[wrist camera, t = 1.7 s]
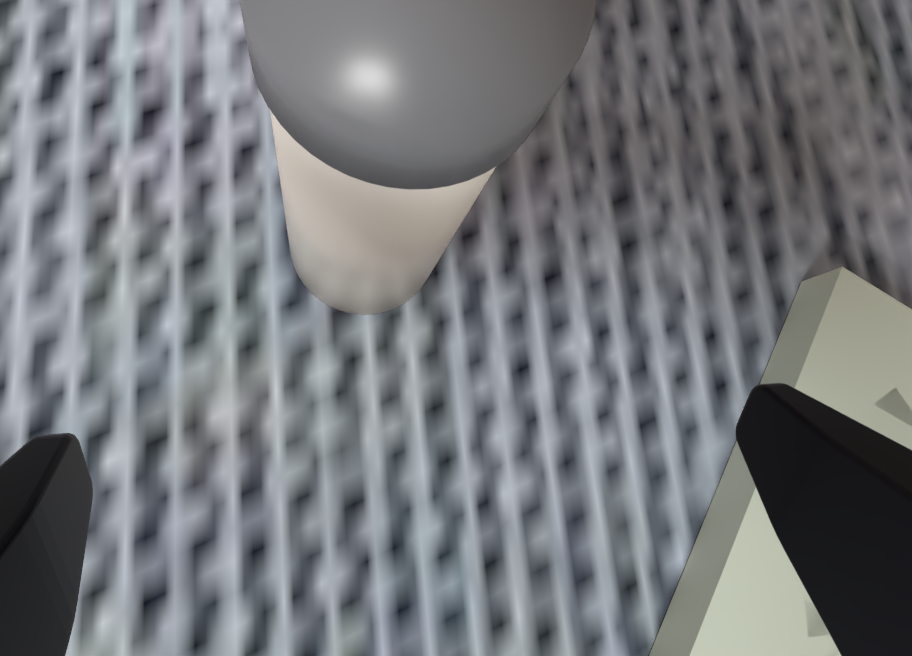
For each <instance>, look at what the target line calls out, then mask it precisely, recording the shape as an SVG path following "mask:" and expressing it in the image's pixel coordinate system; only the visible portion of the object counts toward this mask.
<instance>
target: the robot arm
mask: <svg viewBox="0 0 912 656" xmlns="http://www.w3.org/2000/svg"><path fill="white" fill-rule="evenodd" d="M736 439H737V443H738V446H739V448H740V450H741V453H742V455H743V458H744V460H745V462H746V465H747V467H748V470H749V472H750V474H751V477H752V479H753V481H754V484H755V486H756V489H757V491H758V493H759V496H760V498H761V501H762V503H763V505H764V508H765V510H766V513H767V515H768V517H769V520H770V522H771V524H772V526H773V528H774V531H775V533H776V535H777V537H778V539H779V541H780V543H781V545H782V547H783V549H784V551H785V553H786V554H787V556H788V558H789V560H790V562H791V564H792V565H793V567H794V569H795V571H796V573H797V575H798V577H799V578H800V580H801V582H802V584H803V586H804V588H805V589H806V591H807V593H808V595H809V597H810V599H811V601H812V602H813V604H814V606H815V608H816V610H817V612H818V613H819V615H820V617H821V619H822V621H823V623H824V625H825V626H826V628H827V630H828V632H829V634H830V636H831V637H832V639H833V641H834V643H835V645H836V647H837V649H838V650H839V652H840V654H841V656H912V450H911V449H909V448H907V447H905V446H903V445H901V444H899V443H897V442H895V441H894V440H892V439H890V438H888V437H886V436H884V435H882V434H880V433H878V432H877V431H875V430H873V429H871V428H869V427H867V426H865V425H863V424H861V423H859V422H858V421H856V420H854V419H852V418H850V417H848V416H846V415H844V414H842V413H840V412H839V411H837V410H835V409H833V408H831V407H829V406H827V405H825V404H823V403H822V402H820V401H818V400H816V399H814V398H812V397H810V396H808V395H806V394H804V393H803V392H801V391H799V390H797V389H795V388H793V387H791V386H789V385H787V384H784V383H770V384H759V385H757V386H755V387H754V388H753V389H752V390H751V392H750V394H749V397H748V399H747V401H746V404H745V406H744V409H743V411H742V413H741V416H740V418H739V420H738V423H737V426H736ZM92 498H93V488H92V481H91V477H90V474H89V471H88V468H87V465H86V462H85V459H84V455H83V452H82V449H81V446H80V443H79V441H78V439H77V438H76V436H75V435H73V434H70V433H62V434H48V435H39V436H36V437H34V438H32V439H31V440H30V441H28V442H27V443H26V444H25V445H24V446H23V447H21V448H20V449H19V450H18V451H17V452H16V453H15V454H13V455H12V456H11V457H10V458H9V459H8V460H7V461H5V462H4V463H3V464H2V465H1V466H0V656H65V654H66V650H67V646H68V643H69V639H70V635H71V631H72V627H73V623H74V618H75V612H76V607H77V601H78V594H79V587H80V581H81V574H82V567H83V560H84V553H85V547H86V540H87V533H88V526H89V520H90V513H91V506H92Z"/></svg>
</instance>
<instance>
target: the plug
mask: <svg viewBox="0 0 912 656" xmlns="http://www.w3.org/2000/svg"><path fill="white" fill-rule="evenodd" d="M596 1H597V0H240V5H241V10H242V16H243V22H244V28H245V33H246V39H247V45H248V51H249V56H250V61H251V66H252V70H253V73H254V76H255V79H256V82H257V85H258V88H259V90H260V92H261V94H262V96H263V98H264V100H265V102H266V104H267V106H268V107H269V109H270V112H271V120H272V127H273V134H274V141H275V148H276V155H277V162H278V169H279V176H280V183H281V190H282V197H283V204H284V211H285V218H286V225H287V232H288V239H289V246H290V253H291V258H292V262H293V265H294V268H295V270H296V272H297V274H298V276H299V278H300V279H301V281H302V282H303V284H304V285H305V287H306V288H307V289H308V290H309V291H310V292H311V293H312V294H313V295H314V296H315V297H317V298H318V299H319V300H321V301H322V302H324V303H325V304H327V305H329V306H331V307H333V308H335V309H337V310H340V311H343V312H347V313H352V314H360V315H369V314H378V313H383V312H387V311H390V310H393V309H395V308H397V307H399V306H401V305H402V304H404V303H406V302H407V301H409V300H410V299H411V298H412V297H413V296H414V295H416V293H417V292H418V291H419V290H420V289H421V288H422V286H423V285H424V283H425V282H426V280H427V279H428V277H429V275H430V274H431V272H432V271H433V269H434V267H435V266H436V264H437V262H438V261H439V259H440V257H441V256H442V254H443V253H444V251H445V249H446V248H447V246H448V244H449V243H450V241H451V240H452V238H453V236H454V235H455V233H456V231H457V230H458V228H459V226H460V225H461V223H462V222H463V220H464V218H465V217H466V215H467V213H468V212H469V210H470V208H471V207H472V205H473V204H474V202H475V200H476V199H477V197H478V195H479V194H480V192H481V190H482V189H483V187H484V186H485V184H486V182H487V181H488V179H489V177H490V176H491V174H492V173H493V171H494V169H495V168H496V166H498V165H499V164H501V163H502V162H503V161H504V160H506V159H507V158H508V157H509V156H510V155H512V154H513V153H514V152H515V151H516V150H517V149H518V148H519V147H520V145H521V144H522V143H523V142H524V141H525V140H526V139H527V137H528V136H529V134H530V133H531V131H532V130H533V128H534V127H535V125H536V124H537V122H538V121H539V119H540V118H541V116H542V114H543V113H544V111H545V110H546V108H547V107H548V105H549V104H550V102H551V101H552V99H553V98H554V96H555V95H556V93H557V92H558V90H559V89H560V87H561V85H562V84H563V82H564V81H565V79H566V78H567V76H568V75H569V73H570V72H571V70H572V69H573V67H574V66H575V64H576V63H577V61H578V59H579V58H580V56H581V54H582V52H583V49H584V47H585V45H586V43H587V41H588V38H589V35H590V31H591V28H592V25H593V21H594V15H595V8H596Z"/></svg>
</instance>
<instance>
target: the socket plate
mask: <svg viewBox="0 0 912 656" xmlns="http://www.w3.org/2000/svg"><path fill="white" fill-rule="evenodd" d="M770 383H784V384H787V385H789V386H791V387H793V388H795V389H797V390H799V391H801V392H803V393H804V394H806V395H808V396H810V397H812V398H814V399H816V400H818V401H820V402H822V403H823V404H825V405H827V406H829V407H831V408H833V409H835V410H837V411H839V412H840V413H842V414H844V415H846V416H848V417H850V418H852V419H854V420H856V421H858V422H859V423H861V424H863V425H865V426H867V427H869V428H871V429H873V430H875V431H877V432H878V433H880V434H882V435H884V436H886V437H888V438H890V439H892V440H894V441H895V442H897V443H899V444H901V445H903V446H905V447H907V448H909V449H911V450H912V309H910V308H909V307H907V306H906V305H904V304H902V303H901V302H899V301H897V300H896V299H894V298H893V297H891V296H889V295H888V294H886V293H884V292H883V291H881V290H880V289H878V288H876V287H875V286H873V285H871V284H870V283H868V282H866V281H865V280H863V279H862V278H860V277H858V276H857V275H855V274H853V273H852V272H850V271H849V270H847V269H845V268H844V267H840V268H837V269H834V270H832V271H829V272H826V273H823V274H821V275H818V276H815V277H812V278H809V279H807V280H804V281H801V284H800V286H799V289H798V291H797V294H796V296H795V299H794V301H793V304H792V306H791V308H790V311H789V313H788V316H787V318H786V321H785V323H784V326H783V328H782V331H781V333H780V335H779V338H778V340H777V343H776V345H775V348H774V350H773V353H772V355H771V358H770V360H769V362H768V365H767V367H766V370H765V372H764V375H763V377H762V380H761V382H760V384H770ZM649 656H841V654H840V652H839V650H838V649H837V647H836V645H835V643H834V641H833V639H832V637H831V636H830V634H829V632H828V630H827V628H826V626H825V625H824V623H823V621H822V619H821V617H820V615H819V613H818V612H817V610H816V608H815V606H814V604H813V602H812V601H811V599H810V597H809V595H808V593H807V591H806V589H805V588H804V586H803V584H802V582H801V580H800V578H799V577H798V575H797V573H796V571H795V569H794V567H793V565H792V564H791V562H790V560H789V558H788V556H787V554H786V553H785V551H784V549H783V547H782V545H781V543H780V541H779V539H778V537H777V535H776V533H775V531H774V528H773V526H772V524H771V522H770V520H769V517H768V515H767V513H766V510H765V508H764V505H763V503H762V501H761V498H760V496H759V493H758V491H757V489H756V486H755V484H754V481H753V479H752V477H751V474H750V472H749V470H748V467H747V465H746V462H745V460H744V458H743V455H742V453H741V450H740V448H739V446H738V443H737V441H736V443H735V446H734V448H733V451H732V453H731V456H730V458H729V461H728V463H727V465H726V468H725V470H724V473H723V475H722V478H721V480H720V483H719V485H718V488H717V490H716V492H715V495H714V497H713V500H712V502H711V505H710V507H709V510H708V512H707V515H706V517H705V519H704V522H703V524H702V527H701V529H700V532H699V534H698V537H697V539H696V542H695V544H694V546H693V549H692V551H691V554H690V556H689V559H688V561H687V564H686V566H685V569H684V571H683V573H682V576H681V578H680V581H679V583H678V586H677V588H676V591H675V593H674V596H673V598H672V600H671V603H670V605H669V608H668V610H667V613H666V615H665V618H664V620H663V623H662V625H661V627H660V630H659V632H658V635H657V637H656V640H655V642H654V645H653V647H652V649H651V652H650V654H649Z"/></svg>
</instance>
